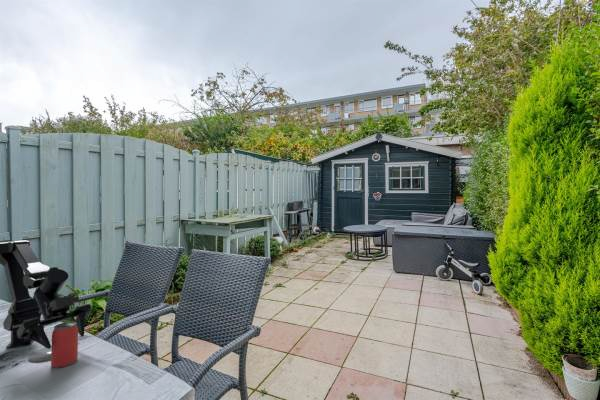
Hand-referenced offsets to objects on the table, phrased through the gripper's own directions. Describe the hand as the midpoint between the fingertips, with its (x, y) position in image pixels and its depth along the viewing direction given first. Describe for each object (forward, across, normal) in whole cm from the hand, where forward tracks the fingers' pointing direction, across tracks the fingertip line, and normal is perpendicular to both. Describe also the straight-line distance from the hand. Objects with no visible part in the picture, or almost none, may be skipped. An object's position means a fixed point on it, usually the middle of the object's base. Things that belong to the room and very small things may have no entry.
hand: (67, 341), depth 93 cm
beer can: (+4, 0, +6) cm, 7 cm away
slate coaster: (-4, +1, +13) cm, 14 cm away
